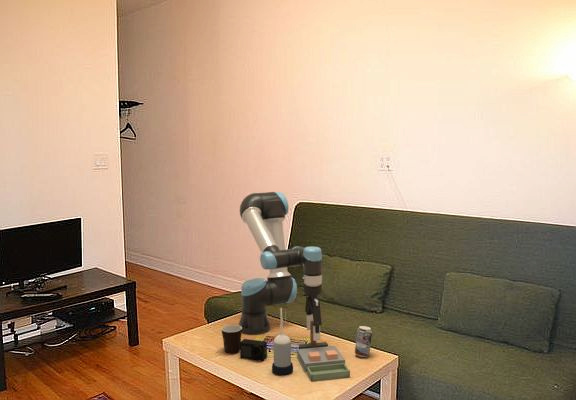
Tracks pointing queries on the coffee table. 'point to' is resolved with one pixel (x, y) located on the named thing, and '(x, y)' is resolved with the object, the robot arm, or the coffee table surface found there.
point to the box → (328, 372)
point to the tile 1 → (314, 356)
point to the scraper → (312, 341)
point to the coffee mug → (232, 338)
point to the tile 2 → (331, 354)
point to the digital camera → (253, 350)
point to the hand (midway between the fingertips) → (313, 334)
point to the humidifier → (282, 353)
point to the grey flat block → (305, 362)
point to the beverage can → (363, 341)
